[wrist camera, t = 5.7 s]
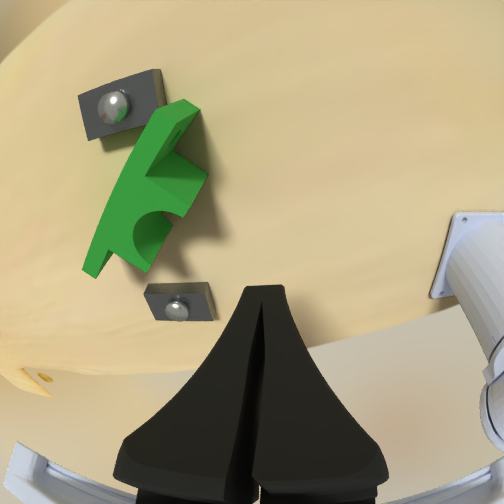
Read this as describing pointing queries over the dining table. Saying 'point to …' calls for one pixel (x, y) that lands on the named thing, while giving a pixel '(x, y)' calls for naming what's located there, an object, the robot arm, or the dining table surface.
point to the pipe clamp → (147, 193)
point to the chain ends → (126, 117)
